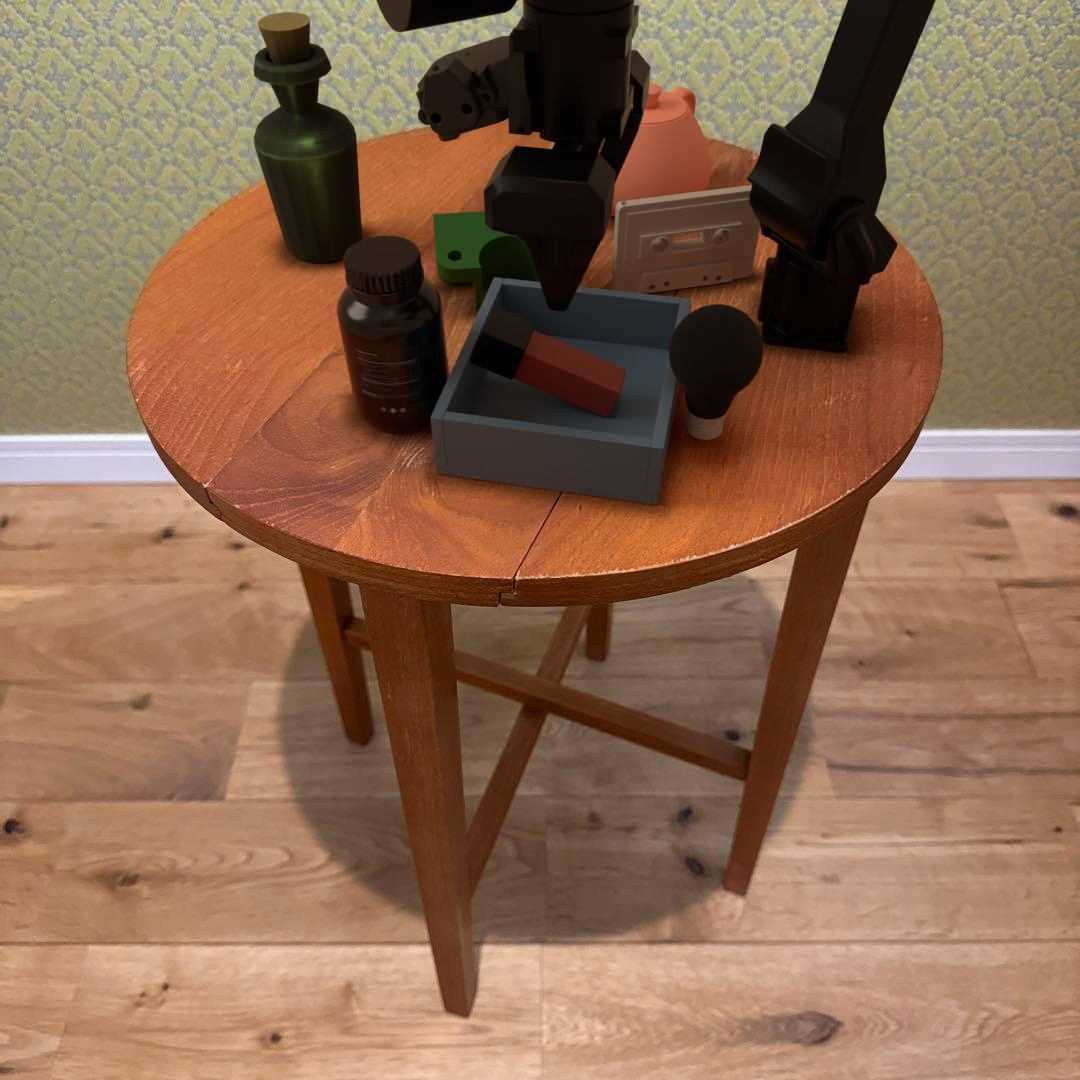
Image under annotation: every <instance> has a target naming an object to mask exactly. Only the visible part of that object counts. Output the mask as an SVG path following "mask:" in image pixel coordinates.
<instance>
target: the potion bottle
mask: <svg viewBox="0 0 1080 1080" xmlns="http://www.w3.org/2000/svg"><path fill="white" fill-rule="evenodd" d="M257 26H258V29H259V31H260V34H261V37H262V39H263V42H264V43H265V47H264V48H261V49H260V50H258V51H257V53H256V54H255V55H254V63H253V76H254V77H255V78H256V79H257V80H259V81H260V82H263V83H268V84H270V87H271V89H272V90H273V93H274V95H275V97H276V100H277V101H278V104H279V107H277V108H276V109H274V110H273V111H272V112H270V113H269V114H267V115H265V116H264V117H263V118H262V119H261V120H260V121H259V123H258V124H257V125H256V129H255V132H254V135H253V145H254V146H253V147H254V149H255V152H256V153H255V154H256V155H257V159H258V162H259V165H260V168H261V172H262V175H263V179H264V181H265V185H266V187H267V191H268V194H269V197H270V200H271V204H272V206H273V210H274V212H275V216H276V219H277V222H278V225H279V228H280V231H281V235H282V238H283V240H284V244H285V247H286V250H287V251H288V252H289V253H290V254H291V255H292V256H293V257H294V258H297V259H298V260H301V261H304V262H307V263H317V264H322V263H330V262H337V261H339V260H342V259H344V255H345V251H347V250H348V248H349V247H351V246H352V244H354V243H356V242H357V241H360V240H362V239H363V226H362V211H361V209H362V208H361V192H360V176H359V158H358V141H357V140H358V139H357V132H356V128H355V126H354V125H353V123H352V122H351V120H350V119H349V118H348V116H347V115H345V114H344V113H343V112H341V111H340V110H339V109H336V108H333V107H330V106H328V105H326V104H323V103H321V102H319V91H320V79H322V78H323V77H325V76H327V75H328V74H329V73H330V72H331V71H332V68H333V67H332V63H331V61H330V59H329V57H328V55H327V53H326V51H325V49H324V48H323V47H322V46H320V45H319V44H316V43H312V42H311V18H310V16H308V15H306V14H305V13H301V12H295V11H293V12H292V11H285V12H276V13H271V14H267V15H265V16H263V17H260V19H259V20H258V21H257Z"/></svg>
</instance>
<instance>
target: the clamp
mask: <svg viewBox="0 0 1080 1080" xmlns="http://www.w3.org/2000/svg"><path fill="white" fill-rule="evenodd" d="M432 220H433V235H434V247H435V261H436V271H437V275H438V277H439V279H440V280H441V281H442V282H444V283H446V284H449V285H467V284H473V295H474V302H475V303H474V304H475V311H479V310H480V308H481V305H482V303H483V301H484V298H483V294H484V291H485V290H486V289H487V288H488V287H490V286H491V283H492V281H493V279H494V277H497V278H504V279H505V278H507V279H516V280H525V281H534V282H540V281H539V278H538V275H537V272H536V269H535V266H534V263H533V260H532V258H531V255H530V253H529V250H528V248H527V245H526V243H525V242H524V241H523V240H522V239H521V238H519V237H518V236H515V235H508V234H504V233H502V232H500V231H493V230H492V229H490V228H489V227H488V226H487V225H485V210H482V211H467V212H466V211H465V212H448V213H433V214H432Z"/></svg>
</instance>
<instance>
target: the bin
mask: <svg viewBox="0 0 1080 1080" xmlns="http://www.w3.org/2000/svg"><path fill="white" fill-rule="evenodd" d="M692 301H693V299H692V298H686V297H677V296H669V295H668V296H667V295H659V294H651V293H647V294H641V293H632V292H623V291H614V290H612V289H605V288H598V287H597V288H596V287H586V286H580V285H579V286H578V289H577V291H576V293H575V295H574V297H573V299H572V301H571V303H570V305H569V307H568V309H567V311H564V312H562V311H553V310H550V309H549V308H548V306H547V303H546V300H545V297H544V293H543V290H542V287H541V284H540V282H534V281H525V280H516V279H507V278H505V279H504V278H497V277H494V279H493V281H492V283H491V284H490V285H489V288H488V290H487V292H486V294H485V297H484V298H483V303H482V305H481V308H480V310H478V312H477V314H476V317H475V319H474V321H473V323H472V325H471V328H470V330H469V332H468V334H467V336H466V338H465V341H464V343H463V345H462V347H461V350H460V352H459V354H458V356H457V359H456V361H455V363H454V365H453V367H452V369H451V370H450V371H451V372H450V373H449V378H448V380H447V382H446V385H445V387H444V389H443V391H442V393H441V396H440V398H439V400H438V402H437V404H436V407H435V409H434V411H433V413H432V415H431V425H430V426H431V436H432V442H433V452H434V461H435V470H436V471H435V472H436V474H437V475H443V476H449V477H450V476H451V477H457V478H465V479H471V480H479V481H484V482H493V483H498V484H505V485H512V486H520V487H526V488H534V489H541V490H549V491H555V492H561V493H569V494H576V495H581V496H590V497H591V496H592V497H597V498H603V499H610V500H617V501H618V500H619V501H624V502H632V503H637V504H638V503H639V504H645V505H652V506H657V505H658V502H659V497H660V492H661V488H662V487H661V486H662V481H663V477H664V476H663V475H664V470H665V465H666V460H667V454H668V449H669V444H670V438H671V432H672V427H673V422H674V417H675V411H676V405H677V398H678V394H679V389H680V385H681V384H680V383H679V381H678V380H677V379H676V377H675V376H674V374H673V371H672V368H671V366H670V362H669V346H670V341H671V337H672V335H673V333H674V331H675V329H676V327H677V326H678V324H679V323H680V322H681V321H682V319H683V318H684V317H686V316H687V315H688V314H690V313H691V312H692V311H691V310H692V303H693V302H692ZM494 306H496V307H498V308H501V309H503V310H505V311H508V312H510V313H512V314H515V315H517V316H519V317H522V318H524V319H527V320H529V321H531V322H534V323H535V325H534V328H533V330H535V331H537V332H539V333H542V334H544V335H546V336H549V337H551V338H553V339H556V340H558V341H560V342H563V343H565V344H568V345H570V346H572V347H575V348H577V349H579V350H582V351H584V352H586V353H589V354H591V355H593V356H596V357H598V358H600V359H603V360H605V361H607V362H610V363H612V364H614V365H617V366H619V367H621V368H624V369H626V374H625V378H624V382H623V386H622V390H621V394H620V396H619V398H618V399H617V401H616V403H615V405H614V407H613V409H612V411H611V412H610V414H609V416H608V417H607V418H606V417H603V416H601V415H599V414H596V413H594V412H591V411H589V410H587V409H584V408H582V407H580V406H577V405H575V404H572V403H570V402H568V401H565V400H563V399H561V398H558V397H556V396H553V395H551V394H549V393H546V392H544V391H541V390H539V389H537V388H534V387H532V386H530V385H527V384H525V383H522V382H520V381H518V380H515V379H514V377H513V380H510V379H508V378H505V377H503V376H500V375H498V374H496V373H493V372H491V371H489V370H486V369H484V368H481V367H479V366H477V365H474V364H472V363H471V362H472V359H473V356H474V353H475V351H476V348H477V345H478V343H479V340H480V337H481V335H482V332H483V330H484V327H485V325H486V323H487V321H488V318H489V316H490V314H491V312H492V309H493V307H494ZM533 330H532V331H533Z"/></svg>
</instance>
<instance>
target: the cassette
mask: <svg viewBox="0 0 1080 1080" xmlns="http://www.w3.org/2000/svg"><path fill="white" fill-rule="evenodd" d="M751 187H752V184H748V185H740V186H732V187H725V188H716V189H708V190H707V189H706V190H705V191H699V192H691V193H683V194H675V195H667V196H659V197H651V198H643V199H635V200H627V201H620V202H618V203H617V205H616V212H615V216H614V233H613V248H612V250H613V251H612V267H611V268H612V269H611V286H610V287H611V288H610V290H614V291H623V292H632V293H641V294H653V293H660V292H666V291H667V292H668V291H674V290H682V289H690V288H695V287H703V286H709V285H710V286H711V285H717V284H724V283H731V282H733V280H737V279H744V278H745V279H746V278H750V277H751V275H752V274H753V270H754V263H755V258H756V251H757V247H758V242H759V234H760V231H761V228H760V222H759V220H758V219H757V218H756V216H755V214H754V212H753V209H752V206H750V204H749V196H750V191H751ZM693 233H694V234H695V233H700V236H699V237H697V238H688V239H681V240H674V238H675V236H677V235H686V234H693Z"/></svg>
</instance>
